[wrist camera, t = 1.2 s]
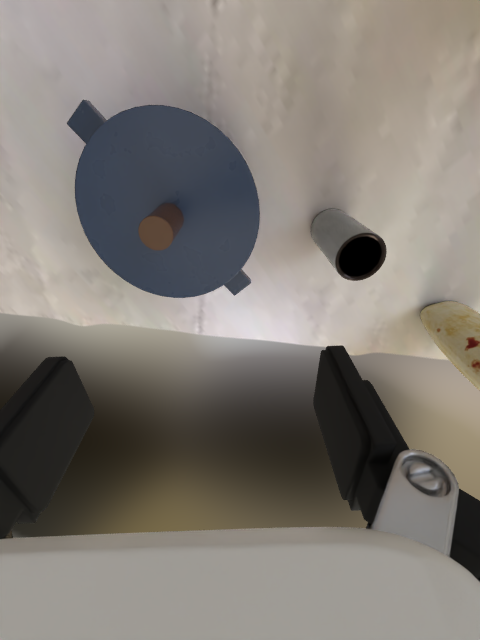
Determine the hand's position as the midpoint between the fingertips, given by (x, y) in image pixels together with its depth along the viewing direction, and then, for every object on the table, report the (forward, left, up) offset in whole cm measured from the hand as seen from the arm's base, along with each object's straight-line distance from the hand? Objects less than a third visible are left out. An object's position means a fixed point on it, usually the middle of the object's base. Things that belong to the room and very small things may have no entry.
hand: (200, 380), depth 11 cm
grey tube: (+2, +12, -27) cm, 29 cm away
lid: (-2, -5, -19) cm, 20 cm away
